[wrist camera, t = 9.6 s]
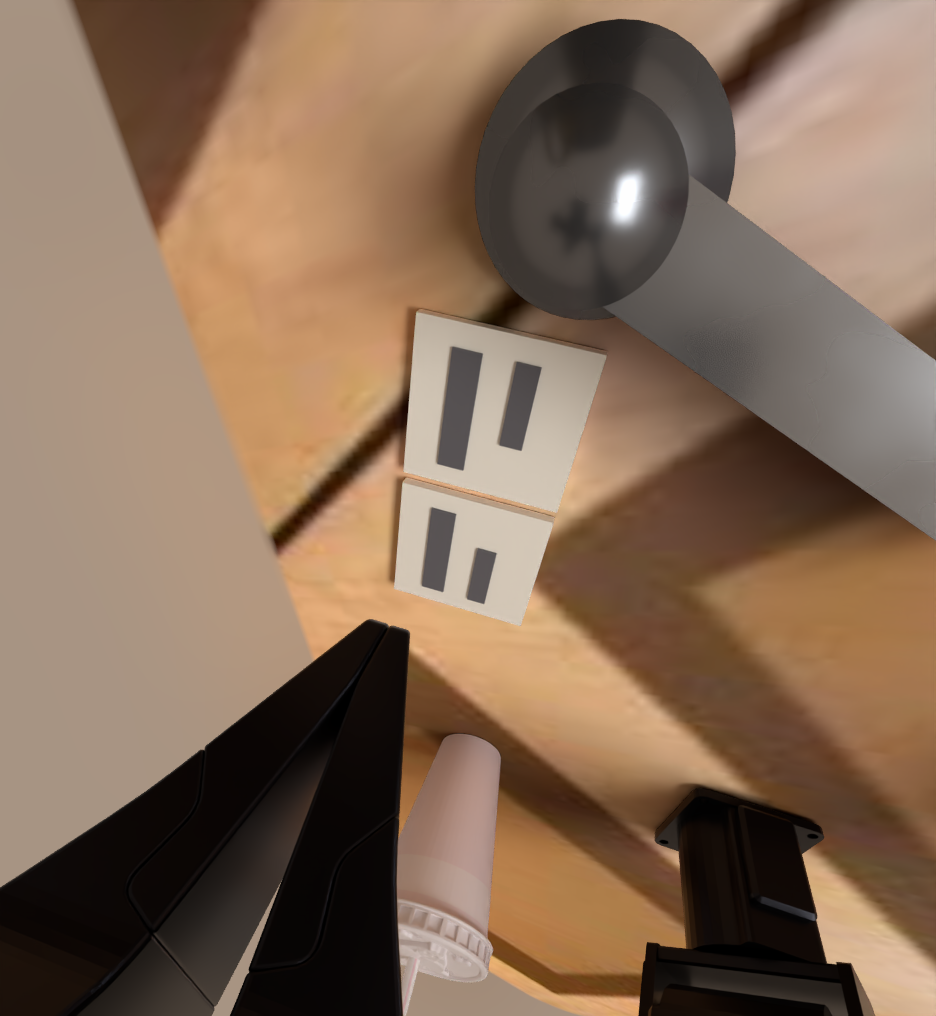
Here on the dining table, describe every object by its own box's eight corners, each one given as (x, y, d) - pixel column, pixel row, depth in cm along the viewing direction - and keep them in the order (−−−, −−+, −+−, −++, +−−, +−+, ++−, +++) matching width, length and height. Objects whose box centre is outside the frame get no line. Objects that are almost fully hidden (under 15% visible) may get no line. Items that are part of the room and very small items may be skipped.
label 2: (522, 619, 23) (520, 628, 22) (397, 582, 23) (393, 590, 23) (554, 516, 19) (553, 524, 19) (406, 477, 20) (401, 483, 19)
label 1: (557, 506, 19) (556, 514, 18) (407, 466, 20) (402, 473, 19) (607, 351, 15) (607, 356, 15) (420, 308, 16) (415, 312, 16)
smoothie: (405, 747, 32) (289, 1061, 21) (447, 704, 28) (333, 1063, 17) (491, 792, 33) (423, 1122, 22) (544, 757, 29) (495, 1136, 18)
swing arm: (503, 218, 13) (456, 244, 9) (581, 70, 11) (560, 30, 7) (1014, 579, 15) (1139, 716, 11) (1157, 509, 13) (1364, 647, 9)
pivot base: (670, 329, 15) (672, 341, 14) (470, 285, 15) (459, 294, 14) (775, 52, 11) (790, 43, 10) (508, 10, 12) (497, -2, 11)
